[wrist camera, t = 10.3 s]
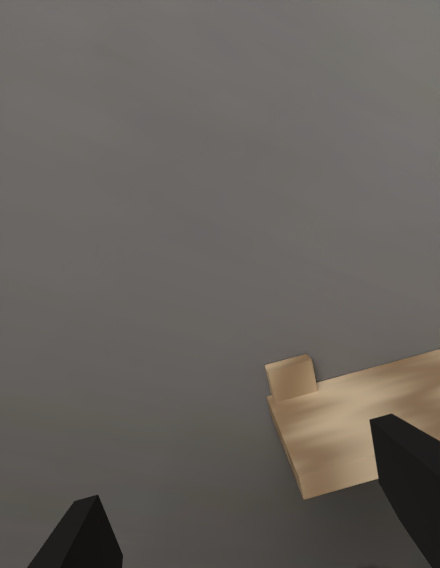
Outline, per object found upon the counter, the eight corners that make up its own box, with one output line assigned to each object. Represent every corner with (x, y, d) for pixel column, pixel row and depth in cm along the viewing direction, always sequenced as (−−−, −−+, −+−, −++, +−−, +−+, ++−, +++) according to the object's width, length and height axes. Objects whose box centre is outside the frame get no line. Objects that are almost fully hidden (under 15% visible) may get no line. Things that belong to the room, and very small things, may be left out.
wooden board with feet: (501, 301, 21) (624, 344, 15) (504, 379, 22) (619, 446, 16) (259, 366, 20) (289, 437, 15) (277, 442, 22) (311, 534, 16)
